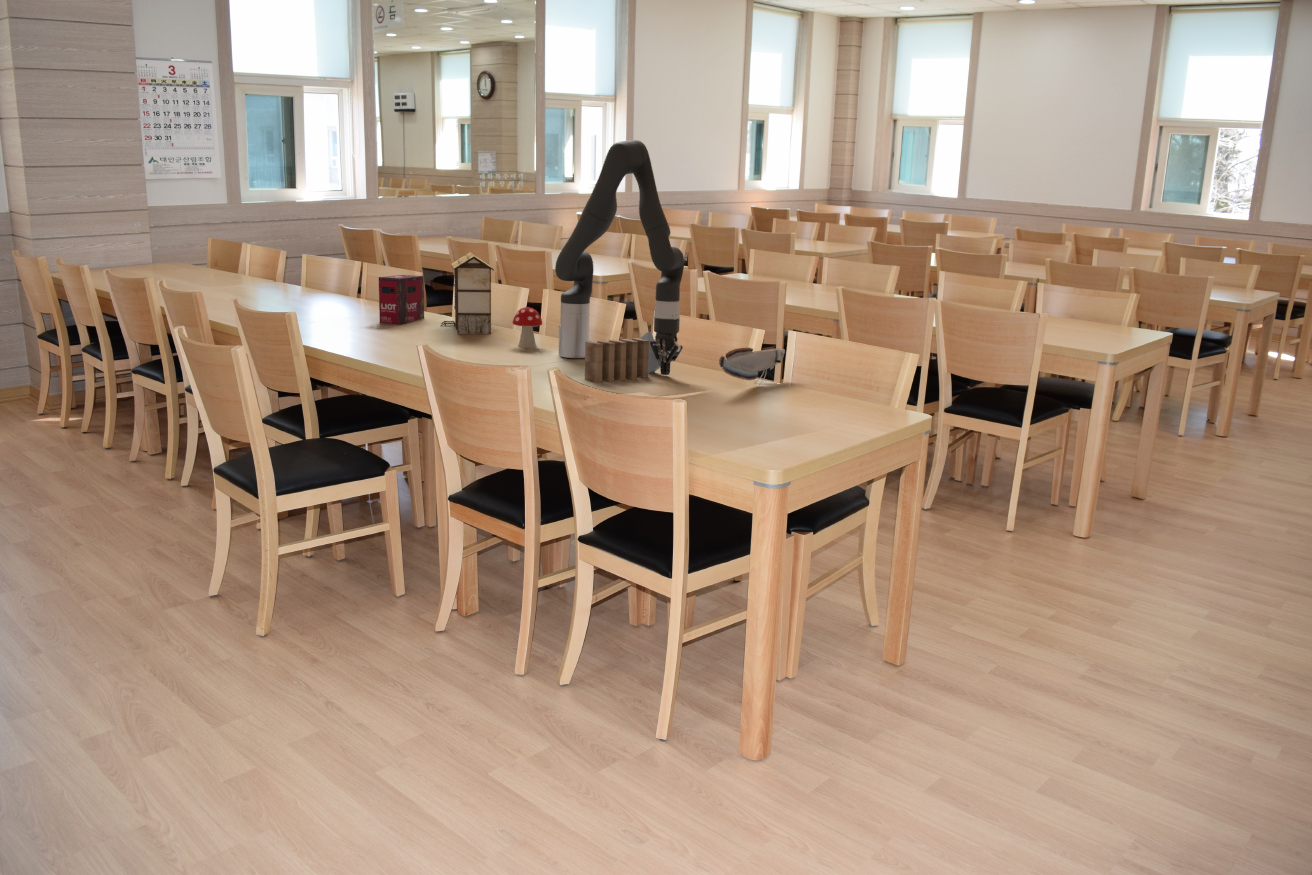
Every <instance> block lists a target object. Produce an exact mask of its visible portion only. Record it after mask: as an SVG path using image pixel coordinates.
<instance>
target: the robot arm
mask: <svg viewBox="0 0 1312 875" xmlns="http://www.w3.org/2000/svg"><path fill="white" fill-rule="evenodd" d="M629 174H632V175H633V176H634V178H635V180H636V182H637V186H638V191H639V192H638V193H639V203H638V213H639V214H638V215H639V218H640V222H641V225H642V227H643V230H644V233H645V235H646V237H647V241H648V248H649V253H650V257H651V261H652V264H653V265H654V267H655V268H656V269H657V270H658V271H659V272H661V273H660V279H659V280H658V281H657V283H656V285H655V303H654V312H653V320H654V321H653V332H654V333H656V334H655V336H654V341H650V345H651V348H652V350H653V352H654V355H655V357H656V359H659V361H660V362H661V367H660V368H659V369H660V375H663V376H668V375H670V373H671V363H672V362H675V361H677V359H678V357H679V355H680V353H681V352H682V351H683V349H684V346H683V345H680V344H679V343H678V335H677V334H678V333H679V332H680V322H681V316H680V315H681V305H680V298H681V297H680V295H681V294H680V291H681V290H680V289H681V288H680V287H681V282H682V279H683V273H684V269H685V268H684V267H685V257H684V253H683V251H681V249H680V248H679V247H676V246H672V245H671V242H670V238H669V237H670V235H671V229H670V228H671V227H670V225H669V223H668V221H667V218H666V215H665V213H664V211H663V208H662V204H661V200H660V197H659V194H658V189H657V185H656V179H655V175H654V170H653V167H652V160H651V158H650V154H649V151H648V148H647V146H646V144H645V143H644V142H642V141H641V140H638V139H631V140H630V139H629V140H622V141H621V140H620V141H617V142H615V143H614V144H612V145H611V146H610V148H609V149H608V151H607V154H606V156H605V158H604V161H603V165H602V168H601V171H600V172H599V176H598V178H597V180H596V183H595V185H594V187H593V189H592V192H591V194H590V196H589V198H588V199H587V202H586V204H585V206H584V208H583V210H582V213H581V214H580V217H579V219H578V221H577V223H576V225H575V227H574V230H573V231H572V233H571V235H570V236H569V238H568V240H566V243H565V244H564V246H563V248H562V249H561V251H560V252H559V253H558V256H557V257H556V258H557V259H556V260H555V266H554V267H555V268H554V271H555V275H556V277H557V278H558V279H559V280H560V281H564V282H573V284H572V286H571V287H570V288H569V289H567V290H566V291H564V292H562V293H561V295H560V322H559V323H560V325H559V326H558V355H559V356H560V358H561V357H562V358H569V359H585V342H587V341H590V314H591V313H590V312H591V308H590V307H591V305H590V304H591V297H592V292H593V280H594V261H593V257H592V255H591V254H590V253H589V252H587V251H586V249H587V248H588V247H590V246H591V245H592V244H593V243H595V242H596V241H597V240H599V239H600V238H601V237H603V235H604V234H605V233H606V232H607V231H608V230H609V229H610V226H611V225H612V222H613V220H614V219H615V217H616V214H617V209H618V201H617V200H618V199H617V192H618V191H617V190H618V188H619V186H620V185H621V182H622V181H623V180H624V177H626V175H629Z"/></svg>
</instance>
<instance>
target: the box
mask: <svg viewBox="0 0 1312 875" xmlns="http://www.w3.org/2000/svg"><path fill="white" fill-rule="evenodd" d="M424 280H425V279H424V276H423V275H412V274H411V275H410V274H397V275H388V276H386V275H385V276H378V304H379V305H378V306H379V307H378V309H379V312H378V313H379V324H384V325H385V324H386V325H396V326H398V325H399V326H402V325H406V324H409V323H413V322H416V321H419V320H424V319H425V289H424V288H425V287H424V286H425V284H424V283H425V282H424Z"/></svg>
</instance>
